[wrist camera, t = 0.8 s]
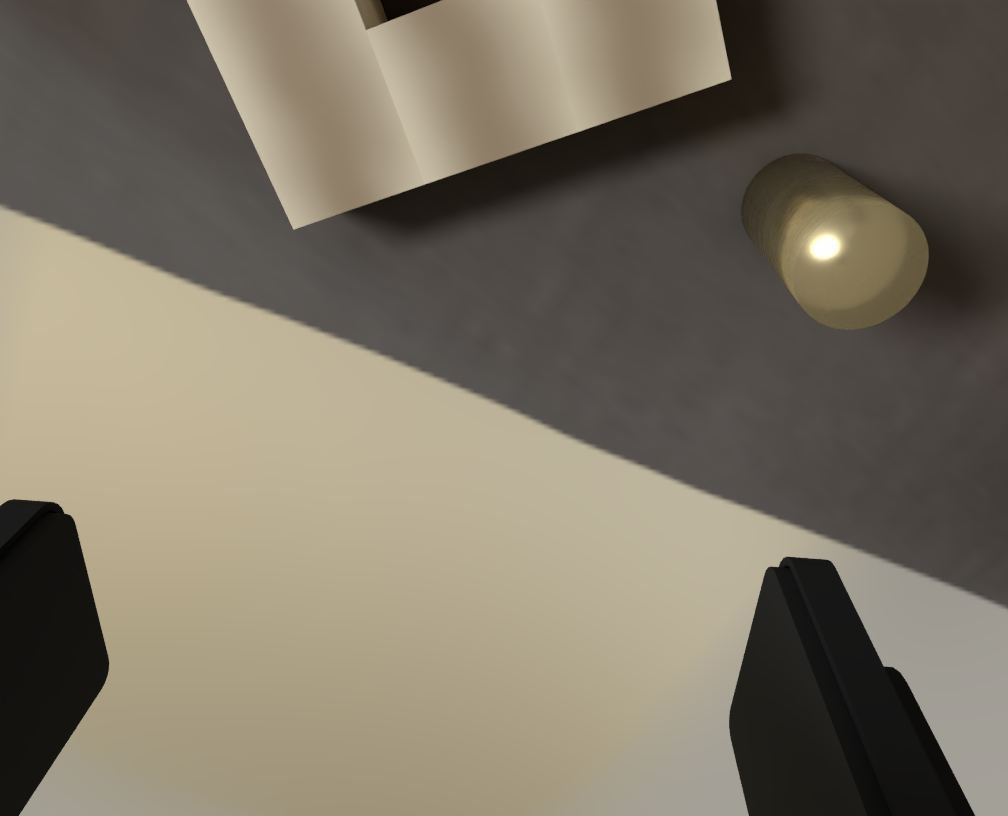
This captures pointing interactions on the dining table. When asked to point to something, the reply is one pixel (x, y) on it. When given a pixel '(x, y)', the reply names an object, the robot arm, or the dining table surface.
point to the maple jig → (441, 83)
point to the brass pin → (834, 241)
